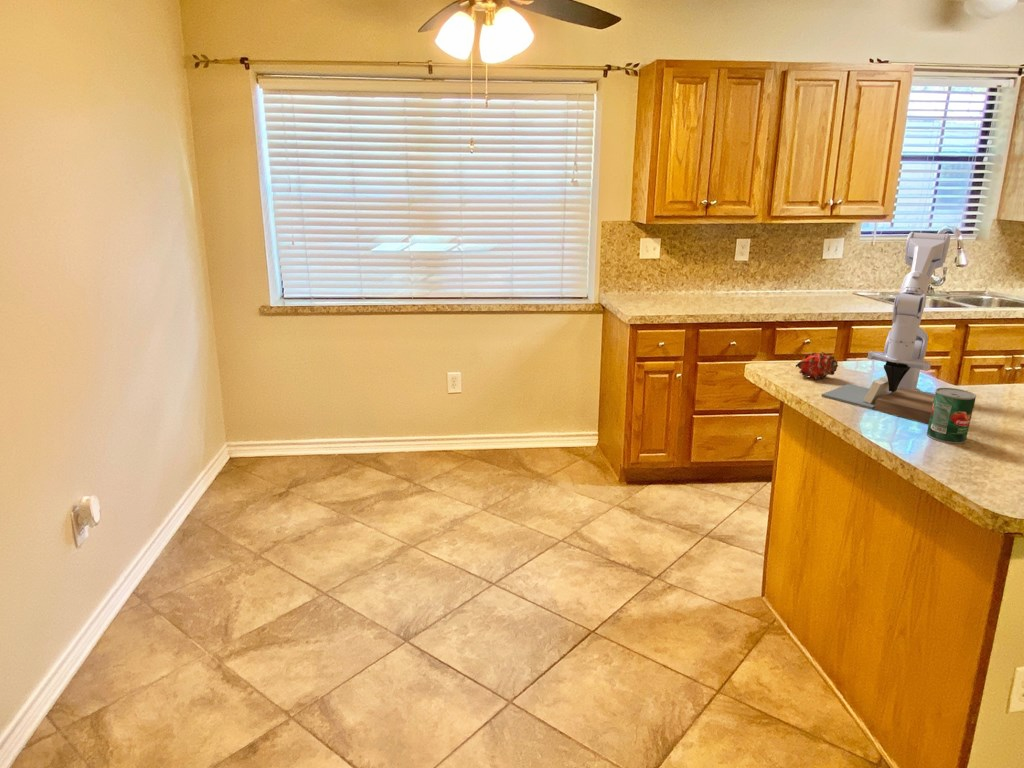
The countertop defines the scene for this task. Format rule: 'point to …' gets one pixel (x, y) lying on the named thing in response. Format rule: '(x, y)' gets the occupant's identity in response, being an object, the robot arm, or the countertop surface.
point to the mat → (850, 395)
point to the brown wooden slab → (907, 404)
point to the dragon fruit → (817, 365)
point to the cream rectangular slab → (877, 389)
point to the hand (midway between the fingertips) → (892, 390)
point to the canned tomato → (951, 415)
